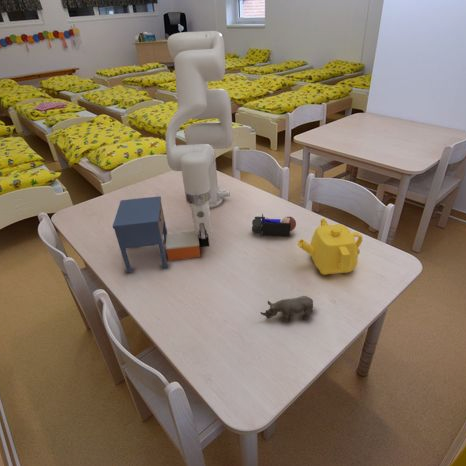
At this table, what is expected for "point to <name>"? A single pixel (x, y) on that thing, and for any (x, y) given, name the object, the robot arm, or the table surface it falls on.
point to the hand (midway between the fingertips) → (204, 245)
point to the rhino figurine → (290, 307)
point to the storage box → (182, 245)
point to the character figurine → (273, 226)
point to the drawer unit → (139, 226)
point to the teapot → (333, 248)
